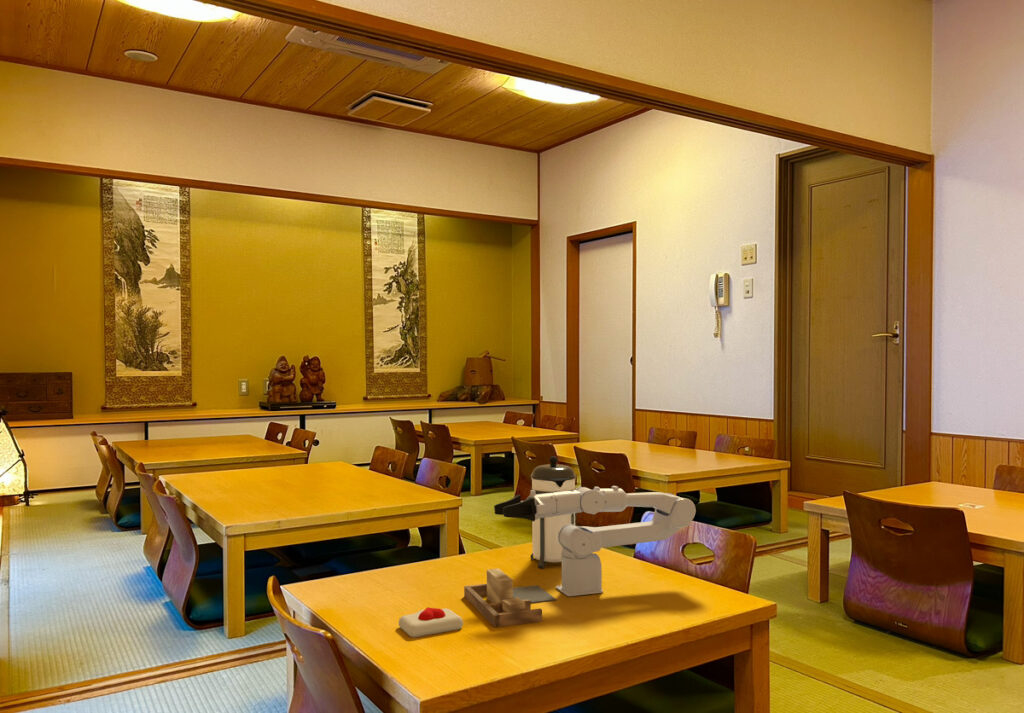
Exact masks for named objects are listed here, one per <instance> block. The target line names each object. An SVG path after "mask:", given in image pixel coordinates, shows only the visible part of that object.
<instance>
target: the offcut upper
mask: <svg viewBox="0 0 1024 713" xmlns="http://www.w3.org/2000/svg"><path fill="white" fill-rule="evenodd" d="M502 609H503V610H504V611H506V612H515V611H523V610H525V602H524V601H522V600H521V599H519V598H512V599H506V600H502Z"/></svg>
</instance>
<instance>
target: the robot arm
mask: <svg viewBox="0 0 1024 713" xmlns="http://www.w3.org/2000/svg"><path fill="white" fill-rule="evenodd" d="M575 488H576V489H575V490H573V491H561V492H553V493H545V494H536V493H535V490H531V489H530V491H529V492H530V494H529V496H528V497H527V498H526V499H524V500H521V499H522V497H521V494H516V495H515V496H513V497H512V498H509V499H508V500H506V501H504V502H500V503H497V504H494V505H493V508H494V515H498V516H499V515H500V516H503V517H504V518H512V519H513V518H515V519H524V520H528V521H531V522H532V521H535V520H536V519H538V518H545V517H553V516H560V515H568V514H573V513H575V514H578V513H582V512H584V513H586V514H590V515H596V514H597V513H604V512H605V513H606V512H607V513H609V512H610V513H617V512H619V513H620V512H623V511H624V510H626V508H627V507H632V508H633V507H636V508H637V507H638V508H640V507H641V508H653V509H654V513H653V516H652V519H651V520H650V521H643V522H642V521H640V522H632V523H624V524H615V525H614V524H612V525H607V526H606V525H605V526H596V527H595V526H584V525H583V526H579V525H576V524H575V525H573V524H567V525H565V526H563V527H562V528H561V529H560V531H559V533H558V541H559V544H560V545H561V546H562V562H561V584H560V585H556V586H555V589H556V590H558V591H560V592H561V593H562V594H564V595H565V596H567V597H577V596H578V597H579V596H585V595H593V594H602V593H603V592H604V590H603V587H602V586H603V585H602V583H603V581H602V578H603V577H602V576H603V575H602V571H603V570H602V561H601V558H600V556H599V555H598V554H597V553H596V552H601V549H602V548H609V547H617V546H619V547H620V546H625V545H626V546H627V545H636V544H643V543H644V544H645V543H650V542H651V543H653V542H659V541H660V542H661V541H665V540H666V541H667V540H668V538H670V537H672V536H673V535H674V534H676V533H677V532H678V531H680V530H681V529H684V528H688V527H689V526H690V525H691V523H692V522H693V520H694V518H695V515H696V512H697V510H696V505H695V504H694V502H693V501H692V500H691V499H689V498H685V497H680V496H677V495H676V494H673V493H671V492H667V493H665V492H661V491H652V492H651V491H649V492H631V493H630V492H629V493H626V492H625V491H624V489H622V488H619V486H618V485H612V486H611V488H600V487H599V486H594V487H593V489H590V488H588V487H586V486H583V487H582V486H578V487H575Z"/></svg>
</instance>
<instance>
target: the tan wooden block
mask: <svg viewBox="0 0 1024 713" xmlns="http://www.w3.org/2000/svg"><path fill="white" fill-rule="evenodd" d="M513 582H514V580H513V579H512V577H510V576H509V575H507V574H506V573H505V572H504V571H503V570H501V569H500V568H490V569H486V584H487V595H486V599H487V601H489V602H490V604H492V603H500V602H502V600H506V599H512V598H513V588H514V586H513V584H514V583H513Z"/></svg>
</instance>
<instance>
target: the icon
mask: <svg viewBox="0 0 1024 713" xmlns="http://www.w3.org/2000/svg"><path fill="white" fill-rule="evenodd" d="M398 626H399V628H400V629H401V630H402V631H404V632H405V633H406V634H407V635H408V636H409V637H411V638H418V637H419V638H420V637H425V636H429V635H436V634H441V633H446V632H451V631H452V632H453V631H457V630H460V629H462V627H463V626H464V621H463V619H462V617H461V616H460V615H458V614H456V613H455V612H454V611H453V610H451V609H449V608H437V607H426V608H425V609H421V610H419V611H417V612H415V613H411V614H406V615H405V614H404V615H402V616H400V618H399V619H398Z"/></svg>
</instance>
